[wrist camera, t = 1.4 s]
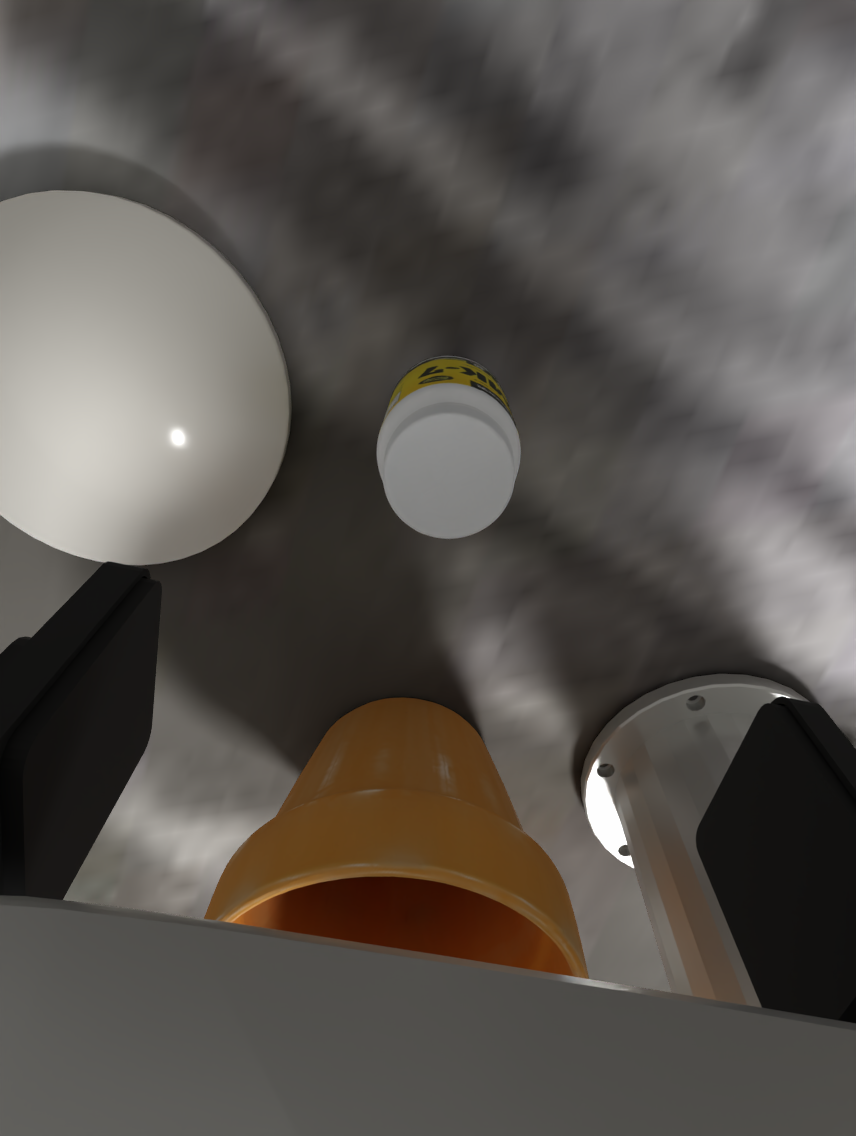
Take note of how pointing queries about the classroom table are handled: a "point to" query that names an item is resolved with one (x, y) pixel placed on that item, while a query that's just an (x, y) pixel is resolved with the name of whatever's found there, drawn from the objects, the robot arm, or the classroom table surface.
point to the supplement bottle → (448, 448)
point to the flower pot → (405, 849)
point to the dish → (131, 381)
